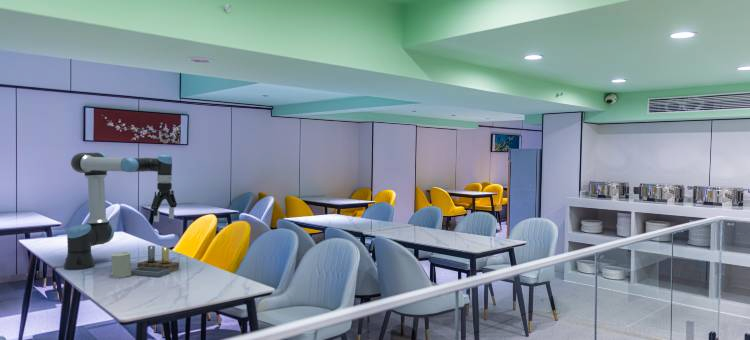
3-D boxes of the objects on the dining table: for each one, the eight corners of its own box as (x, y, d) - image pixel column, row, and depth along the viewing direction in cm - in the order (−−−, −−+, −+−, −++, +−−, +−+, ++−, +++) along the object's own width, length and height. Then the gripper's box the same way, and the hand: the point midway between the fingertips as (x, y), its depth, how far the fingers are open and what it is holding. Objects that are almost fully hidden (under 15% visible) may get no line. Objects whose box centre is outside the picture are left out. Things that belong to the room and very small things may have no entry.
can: (135, 273, 282) (134, 251, 281) (122, 278, 273) (121, 255, 272) (121, 272, 285) (120, 250, 284) (108, 277, 276) (106, 254, 275)
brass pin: (160, 271, 291) (160, 247, 291) (164, 269, 295) (164, 246, 294) (166, 271, 290) (166, 248, 290) (170, 270, 294) (170, 247, 293)
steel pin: (146, 269, 293) (146, 246, 293) (150, 268, 297) (150, 245, 296) (152, 270, 292) (152, 247, 292) (156, 268, 296) (156, 246, 295)
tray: (129, 274, 281) (129, 270, 281) (140, 271, 290) (140, 266, 290) (158, 277, 277) (158, 272, 277) (169, 273, 285) (169, 269, 285)
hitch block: (137, 270, 292) (137, 263, 291) (148, 267, 300) (148, 260, 300) (168, 273, 287) (168, 265, 287) (178, 269, 295) (178, 262, 295)
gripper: (156, 184, 282) (155, 223, 283) (183, 181, 306) (182, 217, 307) (144, 183, 284) (143, 222, 285) (172, 181, 308) (171, 217, 309)
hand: (164, 220), depth 296 cm, fingers open, 13 cm apart
